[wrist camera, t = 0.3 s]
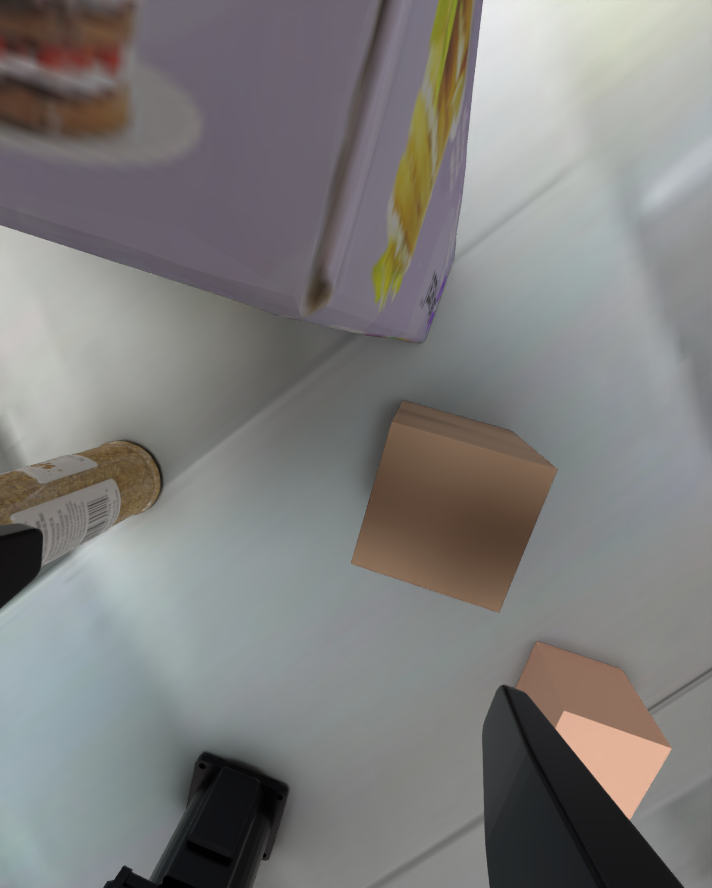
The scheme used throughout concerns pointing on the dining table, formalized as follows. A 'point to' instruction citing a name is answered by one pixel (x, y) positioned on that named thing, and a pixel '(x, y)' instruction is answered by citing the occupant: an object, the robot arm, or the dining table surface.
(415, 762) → the dining table surface
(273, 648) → the dining table surface
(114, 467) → the sprinkles bottle
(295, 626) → the dining table surface
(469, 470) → the tan wooden block
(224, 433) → the dining table surface
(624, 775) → the cube
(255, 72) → the cake pan box
